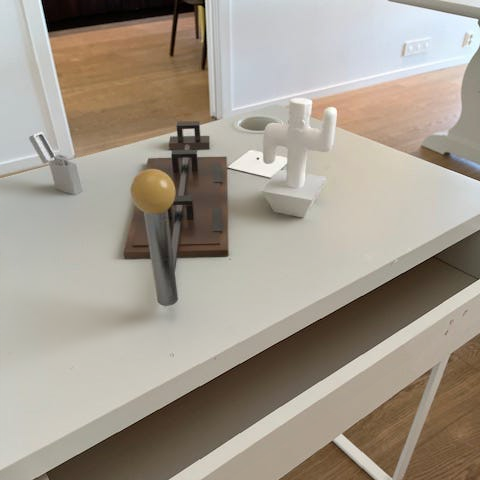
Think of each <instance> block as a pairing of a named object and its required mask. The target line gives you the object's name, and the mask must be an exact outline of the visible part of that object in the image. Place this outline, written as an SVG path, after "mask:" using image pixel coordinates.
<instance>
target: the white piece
mask: <svg viewBox="0 0 480 480" xmlns="http://www.w3.org/2000/svg"><path fill="white" fill-rule="evenodd" d="M285 166H287V156H286V157H285V156H283V155H282V156H281V155H277V154H276V158H275V161H274V162H273V163H271V164H266V163H264V161H263V151H258V150H255V149H250V150H249V151H247V152H246V153H244V154H243V155H242V156H240V157H239V158H237V159H236V160H235V161H233V162H232V163H230V164H229V165H227V169H228V168H229V169H233V170H237V171H242V172H245V173H248V174H249V173H250V174H253V175H258V176H262V177H266V178H269V179H270V178H271V179H272V178H273V177H274V175H275V174H276V173H277V172H278V171H279V169H280V170H282V169H283V168H284V167H285Z"/></svg>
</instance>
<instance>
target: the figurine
mask: <svg viewBox="0 0 480 480" xmlns="http://www.w3.org/2000/svg"><path fill="white" fill-rule="evenodd" d="M312 109H313V100H311V99H309V98H306V97H293V98H291V99H290V100H289V105H288V117H289V118H288V120H287V123H286V124H285V123H279V122H270V123H268V124H267V125H266V126H265V128H264V131H263V139H262V141H263V142H262V152H263V161H264V163H266V164H271V163H273V162H274V161H275V158H276V155H277V147H278V146H279V147H284V148H287V149H286V150H287V155H286V158H287V164H286V170H284V169H279V171H278V172H277V173H275V174H274V175H273V176H272V177H271V179H270V180H269V181H268V183H267V184H266V185H265V186H264V187H263V188H262V190H261V192H262V194H263V196H264V197H265V199H266V201H267V202H268V204H269V206H270V208H271V210H273V212H274V213H278V214H283V215H288V216H293V217H298V218H303V219H304V218H305V217H306V215H307V214H308V212H309V210H310V209H311V208H312V206H313V204H314V202H315V201H316V199H317V197H318V195H319V194H320V192H321V190H322V189H323V186H324V185H325V183H326V181H327V180H328V177H327V176H322V175H321V176H320V175H315V174H310V173H306V169H307V157H308V151H310V152H311V151H312V152H316V153H317V152H318V153H328V152H330V151H331V150H332V148H333V145H334V142H335V138H336V137H335V135H336V126H337V118H338V111H337V108H336V107H334V106H328V107H327V108H325V110H324V111H323V115H322V123H321V128H315V127H311V125H310V118H311V117H310V116H311V115H312Z"/></svg>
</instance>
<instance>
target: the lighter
mask: <svg viewBox="0 0 480 480" xmlns="http://www.w3.org/2000/svg"><path fill="white" fill-rule="evenodd" d="M28 139H29V142H30V143H31V145H32V146H33V148H34V150H35V152H36V153H37V155H38V157H39V158H40V160H41V162H42V164H47V163H48V164H49V168H50V172H51V175H52V179H53V183H54V187H55V190H57V189H58V190H57V191H60V190H61V192H63V193H66V192H67V194H69V195H71V196H72V195H73V196H76V195H78V194H80V193H81V192H83V188H82V184H81V180H80V175H79V171H78V170H79V169H78V167H77V163H76V162H71V161H69V157H68V156H67V155H64V154H61V153H60V154H59V153H58V154H56V153H55V152H54V150H53V148H52V147H51V144H50V143H49V140H47V138H46V135H45V134H44V132H43V131H39V132H37V133H35V134H32V135H31V136H29V137H28Z"/></svg>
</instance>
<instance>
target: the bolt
mask: <svg viewBox="0 0 480 480" xmlns="http://www.w3.org/2000/svg"><path fill="white" fill-rule="evenodd" d="M184 150H190V146H189V145H185V148H184ZM188 161H189V157H188V158H183V162H182V169H181V177H180V184H179V191H178V196H183V195H184V194H185V186H186V178H187V169H188ZM175 194H176V191H175V186H174V183H173V181H172V179H171V178H170V177H169V176H168V175H167V174H166V173H164V172H163V171H161V170H158V169H147V170H145V169H144V170H142V171H140V172H139V173H137V174H136V176H134V178H133V180H132V182H131V186H130V197H131V199H132V202H133V204H134V206H135V207H136V206H137V207H138V208H139V209H140V210H141V211H143V212H144V216H145V223H146V229H147V236H148V242H149V249H150V256H151V258H150V261H151V269H152V274H153V281H154V288H155V294H156V295H155V296H156V301H157V303H158V305H160V306H164V307H169V306H173V305H175V304H176V303H177V302H178V300H179V295H178V286H177V278H176V277H177V276H176V269H177V260H178V257H177V253H178V245H179V236H180V228H181V220H182V211H183V205H176V213H175V220H174V227H173V234H172V241H171V234H170V225H169V217H168V209H169V208H170V207H171V206H172V204H173V202H174V199H175Z"/></svg>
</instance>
